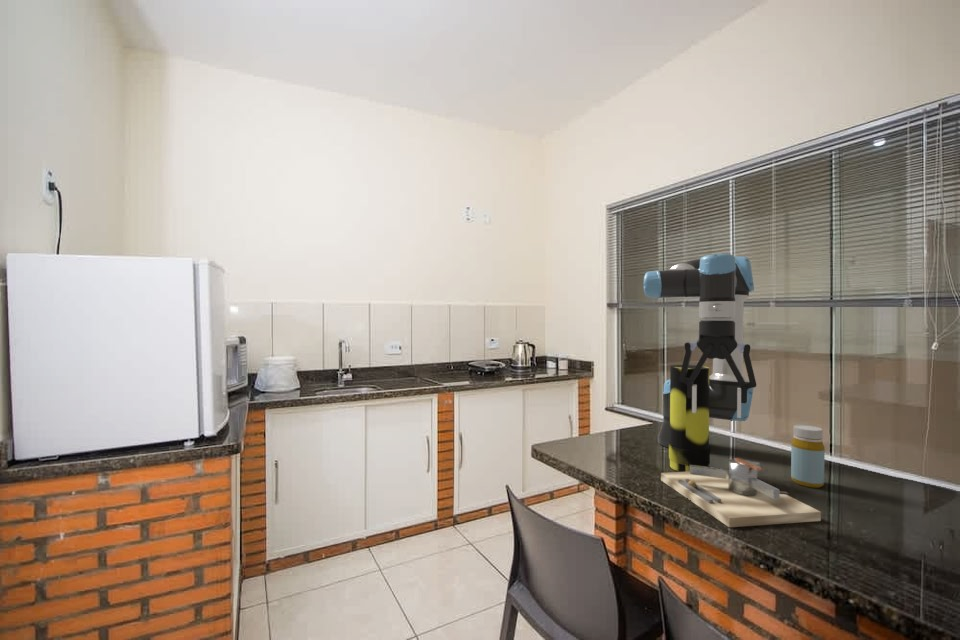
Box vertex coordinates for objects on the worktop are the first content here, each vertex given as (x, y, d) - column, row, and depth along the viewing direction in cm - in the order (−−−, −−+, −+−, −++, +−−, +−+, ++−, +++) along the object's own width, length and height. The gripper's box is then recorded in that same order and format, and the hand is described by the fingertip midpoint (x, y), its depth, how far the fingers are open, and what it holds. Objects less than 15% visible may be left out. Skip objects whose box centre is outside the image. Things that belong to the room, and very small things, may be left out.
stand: (660, 480, 115) (660, 466, 115) (737, 476, 118) (737, 462, 118) (729, 527, 90) (729, 509, 90) (824, 520, 93) (824, 503, 93)
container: (660, 464, 127) (661, 365, 127) (689, 460, 131) (689, 364, 131) (688, 477, 117) (689, 369, 117) (718, 473, 121) (719, 368, 120)
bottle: (830, 489, 109) (830, 431, 109) (799, 487, 111) (800, 430, 111) (814, 479, 116) (815, 425, 116) (786, 477, 118) (786, 423, 117)
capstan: (687, 481, 109) (687, 452, 109) (756, 477, 112) (756, 449, 111) (735, 511, 92) (736, 478, 92) (816, 506, 95) (816, 473, 95)
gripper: (665, 319, 103) (665, 411, 103) (772, 320, 92) (771, 423, 92) (670, 319, 110) (669, 406, 110) (770, 319, 98) (769, 416, 98)
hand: (716, 414), depth 101 cm, fingers open, 9 cm apart
